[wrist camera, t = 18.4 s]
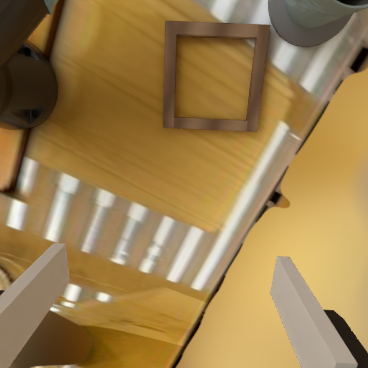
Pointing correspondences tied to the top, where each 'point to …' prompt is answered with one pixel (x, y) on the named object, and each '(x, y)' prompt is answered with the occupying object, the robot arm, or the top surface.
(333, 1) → the grey green cup
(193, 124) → the empty picture frame
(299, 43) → the coaster
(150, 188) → the top surface
